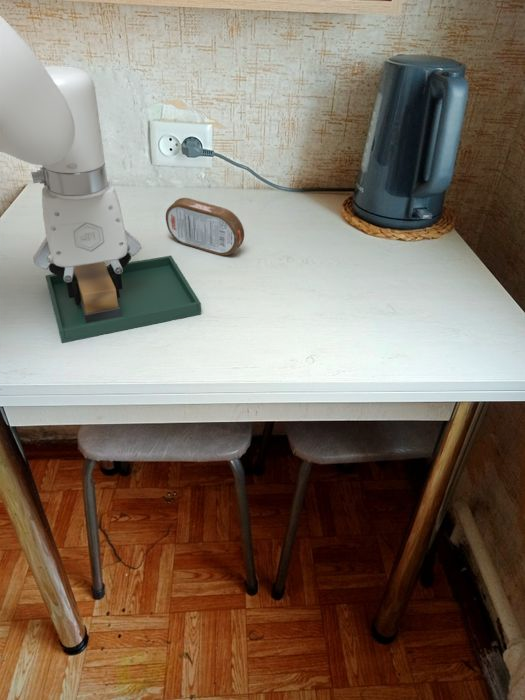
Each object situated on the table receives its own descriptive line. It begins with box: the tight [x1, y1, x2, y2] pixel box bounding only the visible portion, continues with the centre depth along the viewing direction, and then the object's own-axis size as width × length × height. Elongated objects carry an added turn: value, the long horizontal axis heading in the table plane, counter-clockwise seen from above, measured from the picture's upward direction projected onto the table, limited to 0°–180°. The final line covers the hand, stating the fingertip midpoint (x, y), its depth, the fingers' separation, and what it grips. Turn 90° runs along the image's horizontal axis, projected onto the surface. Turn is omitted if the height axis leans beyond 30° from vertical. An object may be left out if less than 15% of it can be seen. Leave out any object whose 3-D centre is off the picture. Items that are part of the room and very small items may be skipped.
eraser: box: [73, 262, 121, 323], centre depth 76 cm, size 5×10×5 cm, turn 25°
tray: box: [45, 255, 202, 344], centre depth 78 cm, size 20×15×2 cm
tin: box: [165, 197, 245, 256], centre depth 91 cm, size 15×3×8 cm, turn 65°
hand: (96, 295), depth 76 cm, fingers closed on eraser, 5 cm apart
